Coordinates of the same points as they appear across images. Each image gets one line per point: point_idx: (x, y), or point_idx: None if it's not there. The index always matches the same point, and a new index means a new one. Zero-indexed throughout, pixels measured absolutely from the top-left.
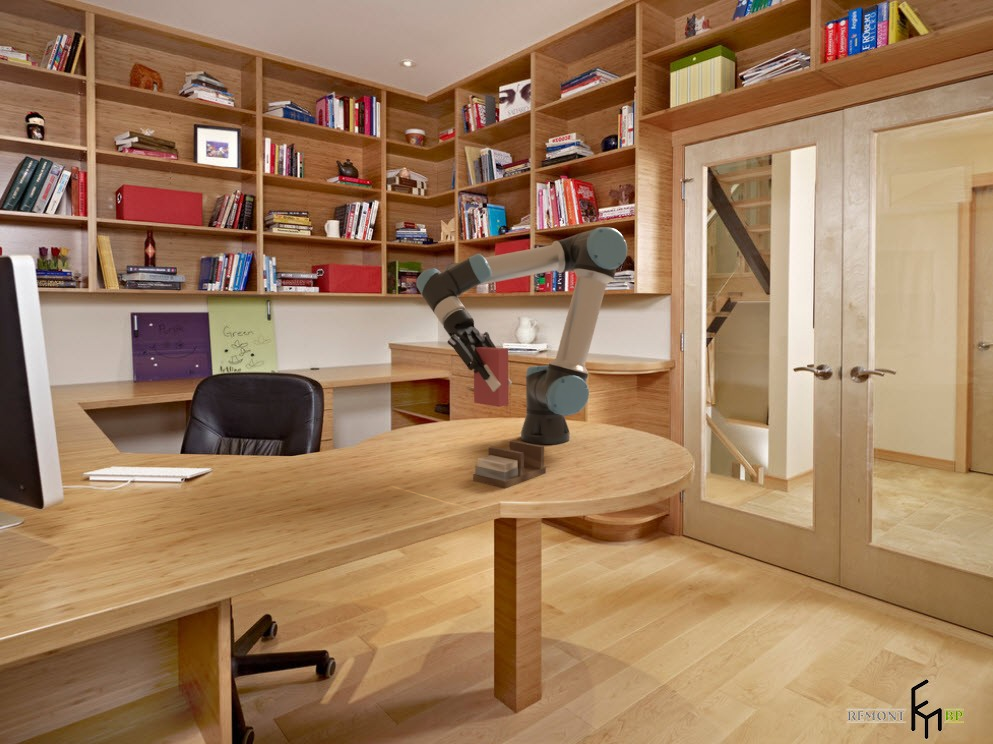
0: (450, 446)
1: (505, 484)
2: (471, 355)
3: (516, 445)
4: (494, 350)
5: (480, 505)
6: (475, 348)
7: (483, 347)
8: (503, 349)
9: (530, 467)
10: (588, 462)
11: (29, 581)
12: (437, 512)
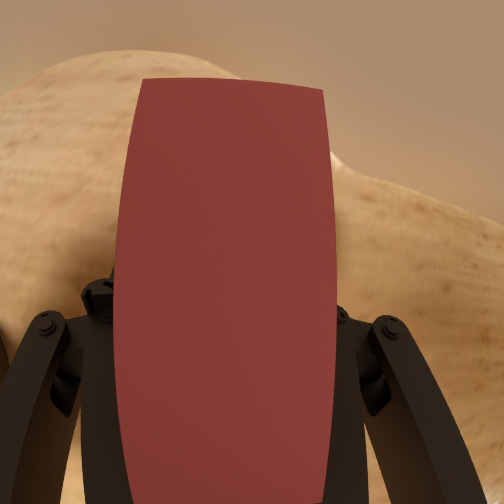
0: None
1: None
2: (409, 391)
3: None
4: (324, 153)
5: (369, 181)
6: (320, 491)
7: (202, 477)
8: (230, 82)
9: None
10: (52, 185)
11: None
12: (421, 212)
